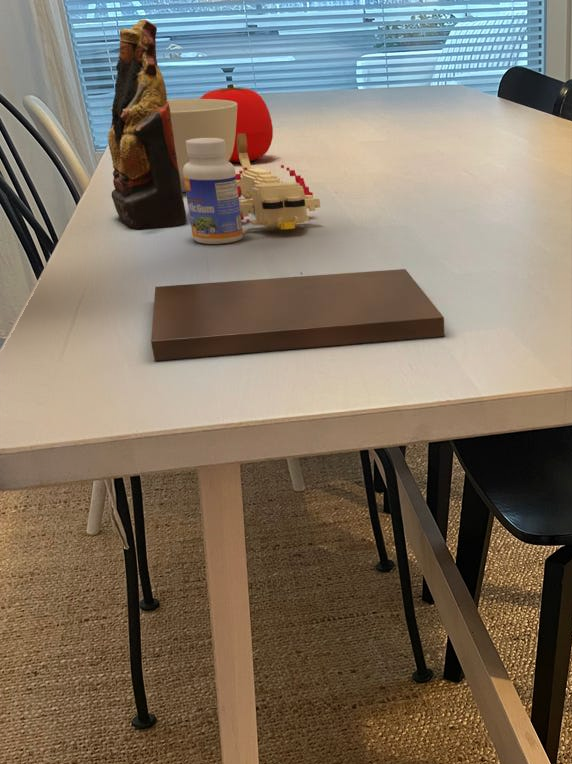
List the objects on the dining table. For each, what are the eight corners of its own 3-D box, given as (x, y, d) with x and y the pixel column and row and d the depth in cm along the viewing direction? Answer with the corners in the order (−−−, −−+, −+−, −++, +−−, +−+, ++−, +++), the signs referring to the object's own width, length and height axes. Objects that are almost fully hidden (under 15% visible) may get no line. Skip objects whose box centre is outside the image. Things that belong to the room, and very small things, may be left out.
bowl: (248, 195, 128) (237, 109, 123) (121, 201, 126) (104, 113, 120) (247, 176, 141) (236, 97, 136) (131, 181, 139) (116, 100, 133)
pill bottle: (182, 241, 106) (165, 141, 101) (220, 232, 110) (206, 135, 105) (217, 247, 104) (202, 144, 98) (254, 237, 107) (241, 138, 102)
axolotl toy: (210, 212, 126) (244, 233, 105) (198, 135, 121) (230, 142, 101) (287, 206, 129) (334, 225, 108) (277, 131, 124) (325, 136, 104)
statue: (114, 215, 119) (74, 19, 107) (181, 209, 121) (149, 17, 110) (124, 234, 109) (82, 22, 98) (197, 228, 112) (164, 21, 101)
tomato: (268, 166, 149) (259, 87, 143) (192, 167, 149) (179, 88, 143) (283, 154, 159) (275, 80, 153) (211, 155, 159) (200, 81, 153)
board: (154, 361, 73) (150, 341, 72) (158, 304, 86) (154, 286, 85) (444, 336, 77) (444, 317, 76) (406, 285, 90) (405, 268, 89)
